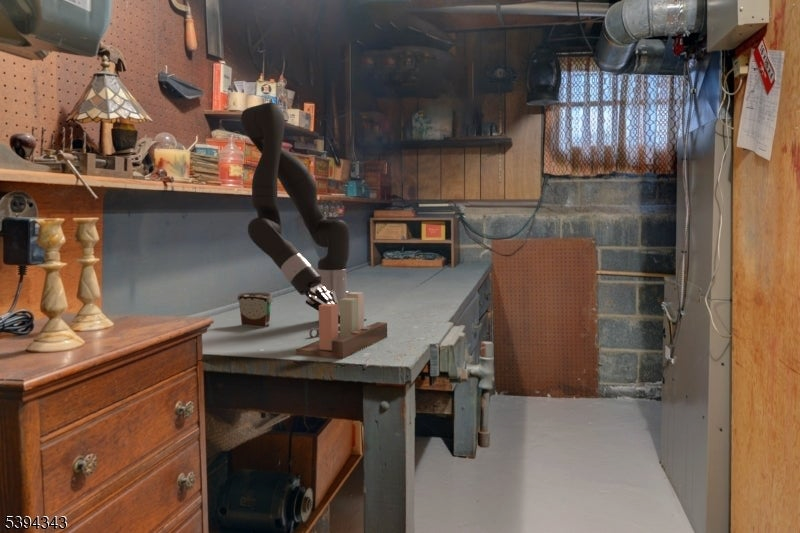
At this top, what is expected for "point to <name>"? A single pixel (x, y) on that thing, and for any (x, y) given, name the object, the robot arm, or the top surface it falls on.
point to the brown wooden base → (348, 342)
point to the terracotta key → (328, 325)
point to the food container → (255, 308)
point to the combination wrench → (318, 331)
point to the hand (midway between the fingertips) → (341, 321)
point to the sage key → (348, 316)
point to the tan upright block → (359, 307)
